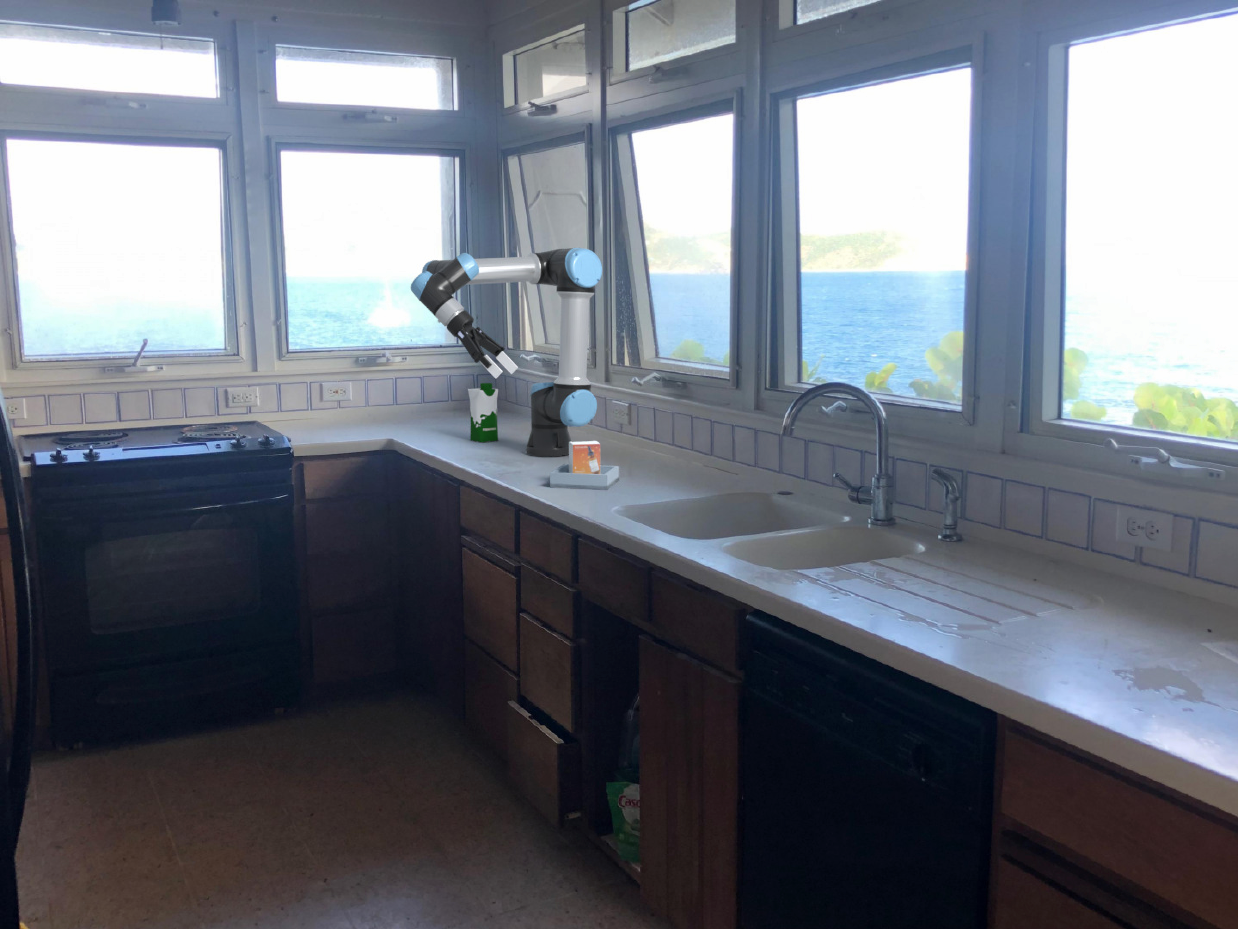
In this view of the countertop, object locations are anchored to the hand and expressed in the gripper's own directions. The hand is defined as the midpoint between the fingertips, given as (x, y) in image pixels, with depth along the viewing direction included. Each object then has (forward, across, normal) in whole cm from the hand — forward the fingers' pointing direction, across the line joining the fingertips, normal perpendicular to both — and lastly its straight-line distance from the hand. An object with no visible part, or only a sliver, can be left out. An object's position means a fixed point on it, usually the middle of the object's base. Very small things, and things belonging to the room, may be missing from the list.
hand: (507, 373), depth 303 cm
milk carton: (0, -63, -43) cm, 76 cm away
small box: (+37, +5, -4) cm, 38 cm away
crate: (+38, +5, -4) cm, 38 cm away
